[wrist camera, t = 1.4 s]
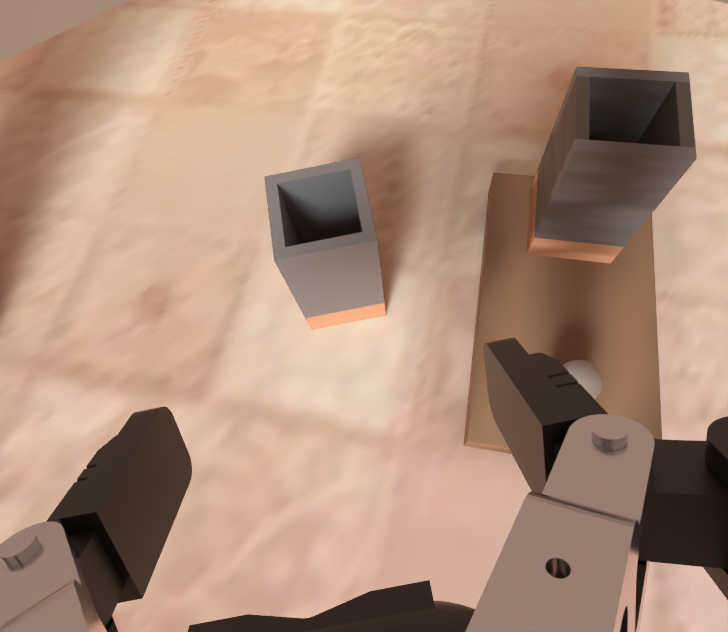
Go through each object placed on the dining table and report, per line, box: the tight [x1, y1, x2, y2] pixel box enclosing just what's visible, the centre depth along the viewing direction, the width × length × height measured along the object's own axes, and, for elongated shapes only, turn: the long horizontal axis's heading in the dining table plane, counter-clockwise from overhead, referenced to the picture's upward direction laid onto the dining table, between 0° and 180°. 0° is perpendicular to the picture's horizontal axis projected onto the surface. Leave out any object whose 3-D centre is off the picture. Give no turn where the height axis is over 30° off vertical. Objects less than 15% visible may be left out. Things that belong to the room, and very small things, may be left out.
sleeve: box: [265, 158, 386, 329], centre depth 28 cm, size 5×5×10 cm
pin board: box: [464, 67, 696, 454], centre depth 25 cm, size 10×18×12 cm, turn 170°
